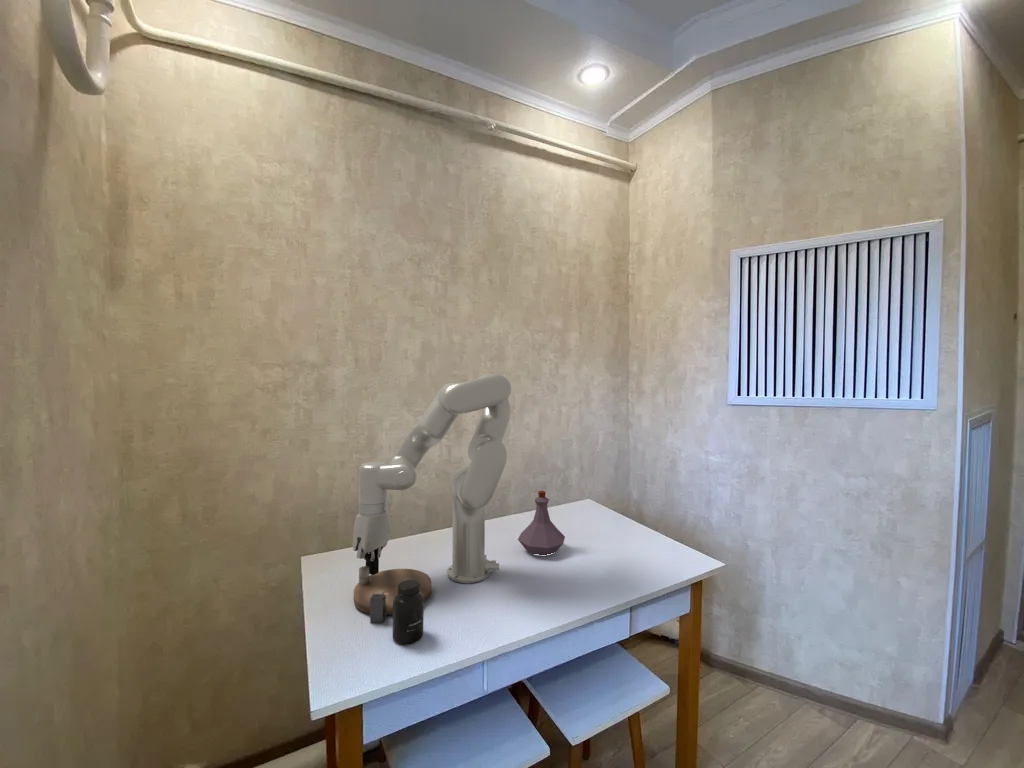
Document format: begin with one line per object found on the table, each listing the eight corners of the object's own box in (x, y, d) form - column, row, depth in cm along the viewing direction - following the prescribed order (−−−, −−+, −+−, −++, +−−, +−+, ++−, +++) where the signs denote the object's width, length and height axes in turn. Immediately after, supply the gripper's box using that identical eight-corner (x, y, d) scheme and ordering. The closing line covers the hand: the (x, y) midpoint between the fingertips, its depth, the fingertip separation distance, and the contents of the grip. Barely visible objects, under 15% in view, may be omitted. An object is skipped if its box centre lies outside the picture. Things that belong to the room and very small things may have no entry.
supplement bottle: (415, 648, 93) (416, 593, 92) (386, 644, 94) (386, 590, 94) (428, 629, 99) (428, 578, 99) (401, 626, 101) (401, 575, 100)
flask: (533, 537, 155) (534, 483, 155) (574, 548, 146) (575, 490, 146) (507, 553, 142) (507, 493, 141) (550, 566, 133) (551, 502, 132)
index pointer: (387, 615, 105) (387, 591, 105) (382, 623, 101) (382, 598, 101) (375, 614, 105) (375, 590, 105) (370, 623, 102) (370, 598, 101)
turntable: (418, 569, 128) (418, 549, 128) (442, 600, 110) (442, 577, 110) (347, 586, 118) (347, 564, 117) (362, 623, 100) (361, 597, 100)
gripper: (380, 498, 127) (379, 560, 127) (342, 513, 113) (341, 581, 113) (401, 502, 124) (400, 565, 124) (363, 517, 110) (363, 588, 110)
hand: (372, 572), depth 119 cm, fingers closed
